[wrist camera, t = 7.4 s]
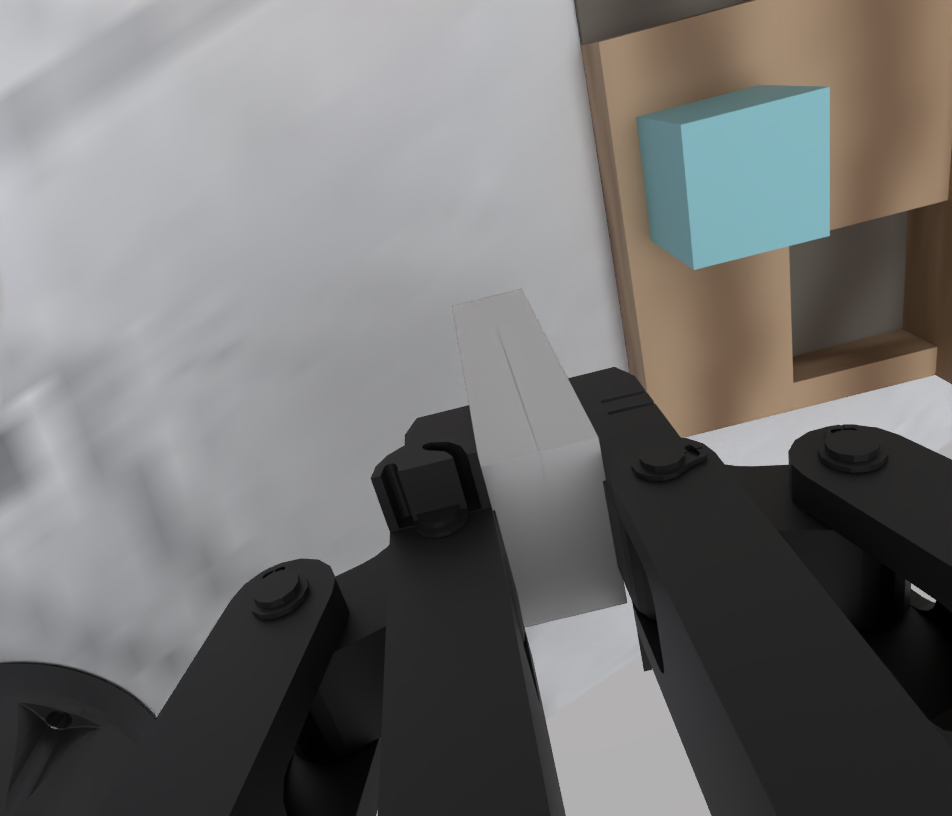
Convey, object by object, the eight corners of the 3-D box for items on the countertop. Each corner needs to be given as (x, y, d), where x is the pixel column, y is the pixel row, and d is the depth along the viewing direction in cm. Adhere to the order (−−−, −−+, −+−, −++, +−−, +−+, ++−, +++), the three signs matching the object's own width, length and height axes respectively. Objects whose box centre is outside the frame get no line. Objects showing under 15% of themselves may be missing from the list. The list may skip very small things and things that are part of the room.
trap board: (636, 417, 36) (668, 465, 32) (503, -471, 22) (527, -612, 17) (914, 347, 36) (986, 386, 32) (968, -606, 21) (1114, -786, 17)
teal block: (650, 240, 29) (693, 270, 25) (636, 117, 27) (681, 124, 23) (765, 211, 29) (829, 235, 25) (760, 84, 27) (829, 86, 22)
